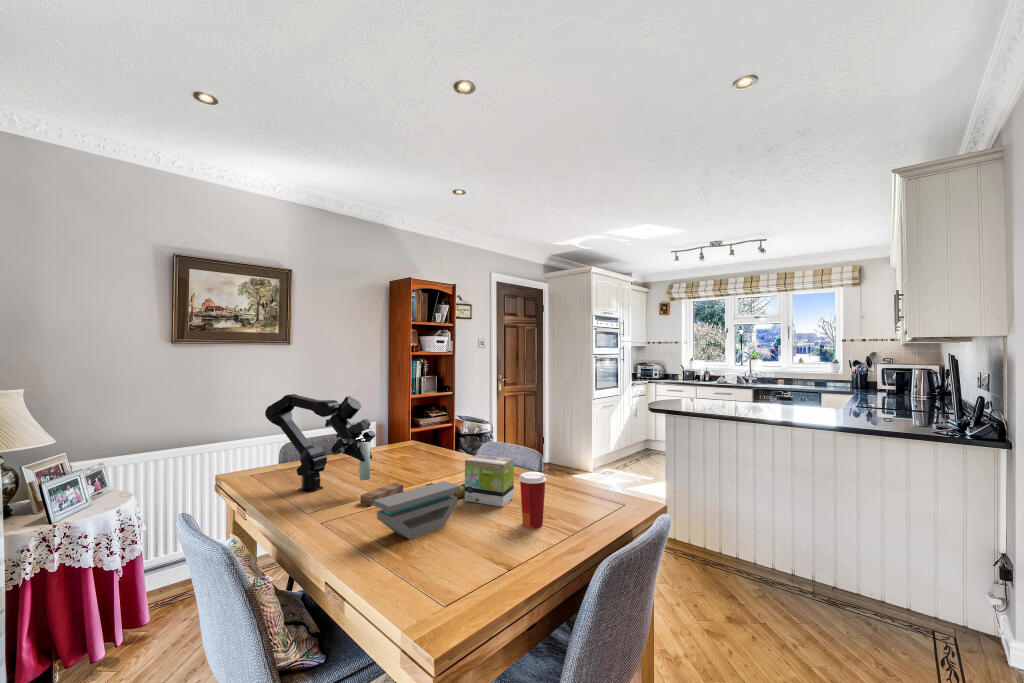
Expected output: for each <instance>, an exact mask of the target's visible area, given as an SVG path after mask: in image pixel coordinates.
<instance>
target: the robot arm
mask: <svg viewBox="0 0 1024 683" xmlns="http://www.w3.org/2000/svg"><path fill="white" fill-rule="evenodd" d="M295 407H296V408H299V409H303V410H308V411H312V412H313V413H314V414H315V415H317V416H319V417H320V418H321V417H322V418H327V417H329V418H327V419H326V420H325V423H324V424H325V425H324V427H325V428H328V427H331V428H332V429H333V430H334V431H335V433H336V435H335V437H336V438H337V439H338V438H339V439H338V440H337V441H335V443H334V444H333V445H332V446H331V453H332V454H333V455H334V456H337V455H339V454H341V449H342V448H343V452H342V454H343V455H347V456H349V457H352V458H353V459H355V460H358V461H359V462H360V461H362V462H364V461H365V458H364V456H363V455H362V453H361V451H360V443H362V442H370V443H371V442H372V441H373V439H374V438H375V437H376V435H377V434H376V433H375V431H374V430H369V429H370V427H371V421H369V419H368V418H364V419H362V420H360V422H356V423H351V422H350V421H349V420H351V419H353V418H354V417H355V416H356V415H357V413H358V412H359V411H360V410H361V408H362V403H361V402H360V401H359V400H357V399H355V398H353V397H351V395H349V396H347V395H346V396H345V398H344V399H343V401H342V402H341V403H340V402H339V401H337V400H335V399H324V400H323V399H322V400H320V399H315V398H312V397H311V398H310V397H306V396H303V395H298V394H296V393H292V394H285V395H284V396H283V397H282V398H281V399H279V400H277V401H275V402H273V403H272V404H271V405H268V406H267V408H266V409H265V412H264V413H265V414H264V415H265V417H266V419H267V420H268V421H269V422H270V423H271V424H273V425H276V426H277V427H279V428H280V429H281V430H282V432H283V433H284V434H285V436H286V438H288V439H289V442H291V444H292V445H293V446H294V448H295V449H296V451H297V452H298V454H299V455H300V457H299V461H300V466H299V467H297V468H296V474H297V476H300V477H301V487H300V488H298V489H297V490H298V491H300V492H304V491H305V492H304V493H311V492H315V491H319V490H322V489H324V486H323V485H321V472H323V471H325V468H326V465H327V462H328V461H327V460H328V457H327V455H326V454H327V452H325V451H324V450H323V449H322V447H321V446H319V445H318V446H313V445H312V444H311V442H310V441H309V439H307V437H306V436H305V435H304V433H303V432H302V431H301V429H300V428H299V427H298V425H297V424H296V422H294V420H293V413H292V412H293V410H294V409H295ZM366 430H367V431H366ZM368 430H369V431H368ZM364 431H365V432H364ZM372 458H373V455H372V451H371V450H370V460H371V459H372ZM318 489H319V490H318Z"/></svg>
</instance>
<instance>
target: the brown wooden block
mask: <svg viewBox="0 0 1024 683" xmlns="http://www.w3.org/2000/svg"><path fill="white" fill-rule="evenodd" d="M402 492H404V484H400V483H394V482H393V483H390V484H387V485H385V486H381V487H378V488H376V489H374V490H371V491H368V492H365V493H363V494H361V495H360V498H359V499H360V501H359V502H360V503H361V504H360V505H363V504H365V505H364V506H367V505H369V506H368V507H373V506H374V500H376V499H380V498H384V497H387V496H391V495H394V494H398V493H402ZM372 505H373V506H372Z"/></svg>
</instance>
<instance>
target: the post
mask: <svg viewBox="0 0 1024 683" xmlns="http://www.w3.org/2000/svg"><path fill="white" fill-rule="evenodd" d="M360 451H361V453H362V455H363V456H364V458H365V461H364V462H362V461H360V460H359V481H368V480H370V479H371V459H370V451H371V441H370V442H362V443H360Z"/></svg>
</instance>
